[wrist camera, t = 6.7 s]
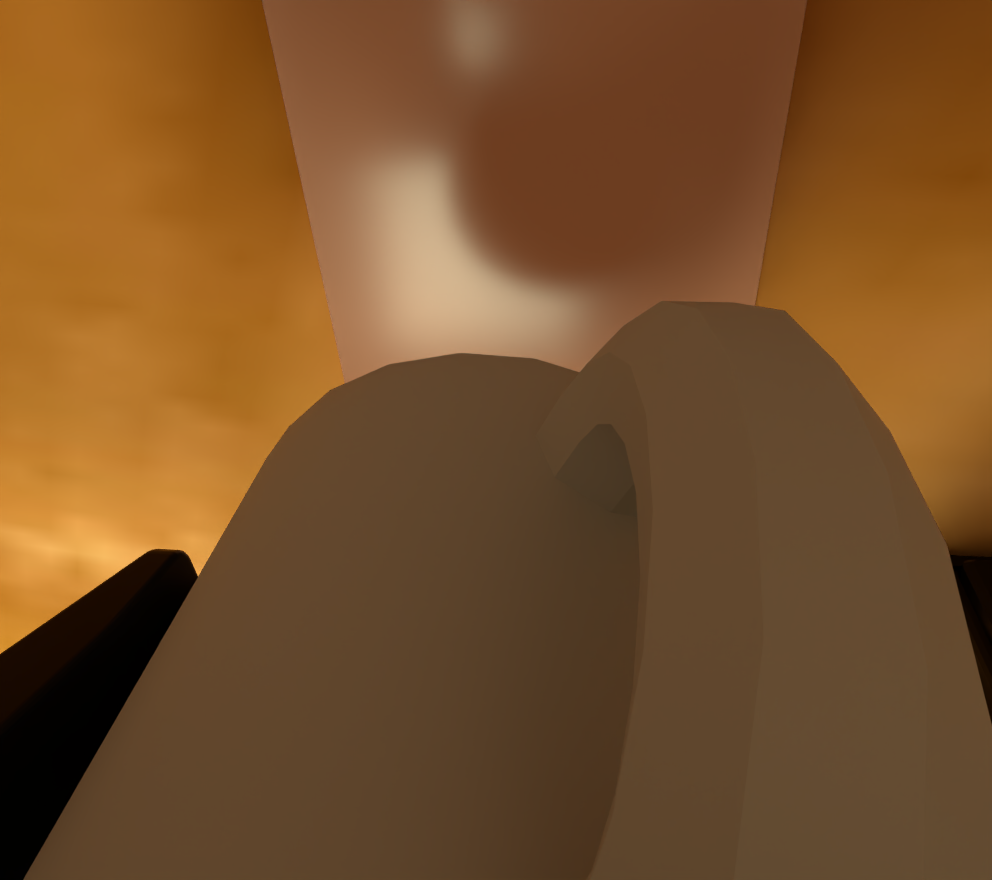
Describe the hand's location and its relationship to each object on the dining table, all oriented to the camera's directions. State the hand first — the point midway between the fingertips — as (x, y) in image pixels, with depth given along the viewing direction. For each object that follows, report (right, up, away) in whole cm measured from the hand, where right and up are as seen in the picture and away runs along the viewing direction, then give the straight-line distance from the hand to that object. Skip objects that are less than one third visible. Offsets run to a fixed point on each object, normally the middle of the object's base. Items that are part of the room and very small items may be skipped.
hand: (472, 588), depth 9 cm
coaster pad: (+1, +6, +8) cm, 10 cm away
